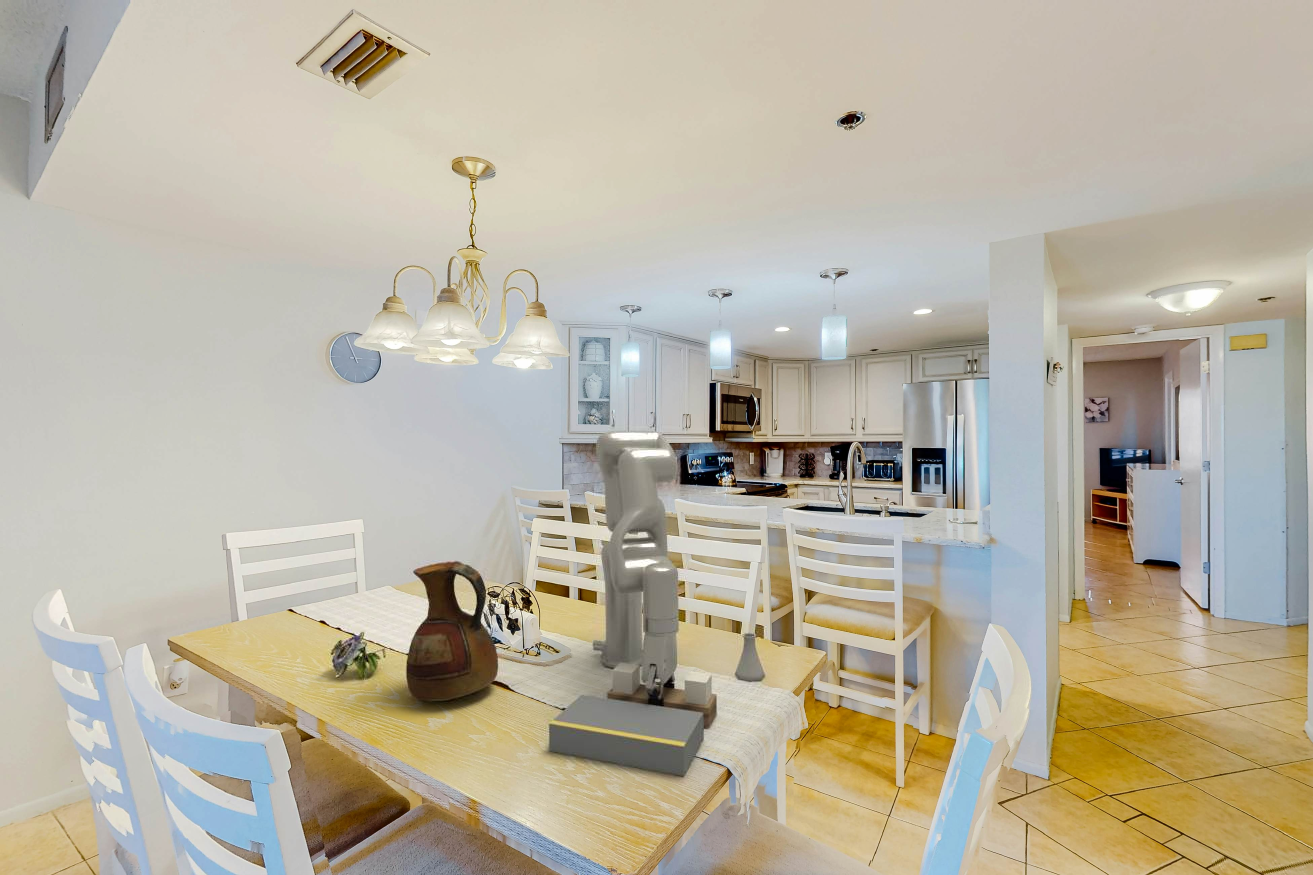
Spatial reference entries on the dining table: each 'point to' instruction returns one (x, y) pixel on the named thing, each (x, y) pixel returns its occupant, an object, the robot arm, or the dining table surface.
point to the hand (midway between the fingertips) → (661, 708)
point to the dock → (628, 734)
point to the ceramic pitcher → (450, 639)
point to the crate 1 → (626, 678)
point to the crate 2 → (698, 688)
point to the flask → (749, 661)
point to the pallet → (671, 701)
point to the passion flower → (354, 656)
